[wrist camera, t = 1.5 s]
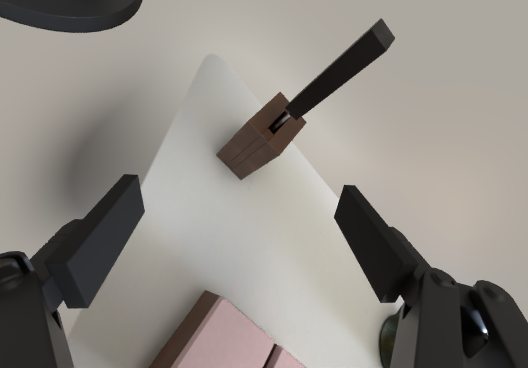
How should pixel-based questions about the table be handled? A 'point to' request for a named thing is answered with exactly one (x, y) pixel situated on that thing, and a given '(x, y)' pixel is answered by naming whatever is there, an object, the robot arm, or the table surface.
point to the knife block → (260, 138)
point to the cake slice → (281, 359)
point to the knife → (340, 70)
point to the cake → (215, 339)
